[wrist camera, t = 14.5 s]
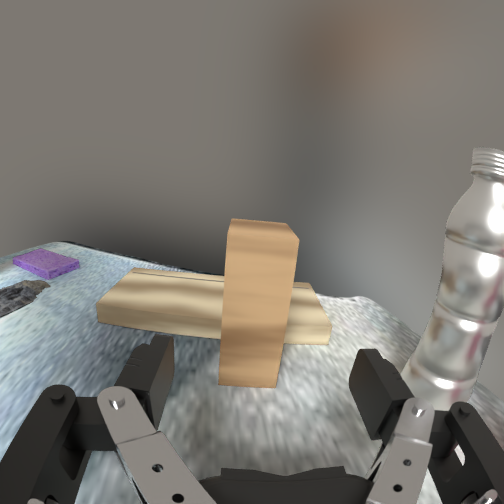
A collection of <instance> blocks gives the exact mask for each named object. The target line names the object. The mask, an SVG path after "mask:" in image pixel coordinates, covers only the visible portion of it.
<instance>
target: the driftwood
mask: <svg viewBox="0 0 504 504" xmlns="http://www.w3.org/2000/svg"><path fill="white" fill-rule="evenodd" d="M48 287H51V286H50V285H49V284H47V283H46V282H45V281H41V280H36V281H27V280H24V281H22V282H19V283H16V284H14V285H12V286H9V287H5V288H2V289H0V317H1V316H2V315H5V314H7V313H10V312H12V311H14V310H16V309H18V308H20V307H22V306H24V305H27V304H29V303H31V302H33V301H34V299H35V298H37V297H36V295H38V294H40V292H42V290H43V289H44V288H48Z"/></svg>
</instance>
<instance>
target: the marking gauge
mask: <svg viewBox="0 0 504 504" xmlns="http://www.w3.org/2000/svg"><path fill="white" fill-rule="evenodd" d="M298 245H299V239H298V238H297V237H296V235H295V234H294V232H293V231H292V230H291V229H290V227H289V226H288V225H287V224H286V223H275V222H265V221H254V220H243V219H232V220H231V223H230V227H229V231H228V237H227V251H226V264H225V278H224V293H223V308H222V325H221V343H220V362H219V383H218V385H227V386H241V387H259V388H276V382H277V377H278V372H279V366H280V361H281V355H282V349H283V344H284V338H285V332H286V326H287V320H288V313H289V307H290V301H291V294H292V288H293V280H294V274H295V266H296V260H297V253H298Z"/></svg>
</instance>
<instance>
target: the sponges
mask: <svg viewBox="0 0 504 504" xmlns="http://www.w3.org/2000/svg"><path fill="white" fill-rule="evenodd" d="M13 264H15V265H17V266H19V267H21V268H24V269H26V270H28V271H30V272H32V273H34V274H37V275H38V276H41V277H43V278H45V279H47V280H49V279H52V278H54V277H57V276H59V275H62V274H64V273H67V272H70V271H72V270H75V269H77V268H79V265H78V264H79V260H78V259H73V258H70V257H66V256H63V255H59V254H57V253H54V252H51V251H47V250H44V249H42V248H40V249H37V250H34V251H32V252H29V253H26V254H23V255H19V256H16V257H13Z"/></svg>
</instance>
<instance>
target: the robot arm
mask: <svg viewBox="0 0 504 504" xmlns="http://www.w3.org/2000/svg"><path fill="white" fill-rule="evenodd" d="M398 373H399V372H398V371H397V369H396V368H395V366H394V365H393V364H392V363H390V362H389V361H388V360H386V359H383V358H382V356H381V355H380V353H379V352H378V350H377V349H360V350H359V351H358V353H357V356H356V359H355V362H354V365H353V368H352V371H351V374H350V377H349V388H350V391H351V393H352V396H353V398H354V400H355V403H356V405H357V407H358V410H359V412H360V415H361V417H362V419H363V422H364V424H365V427H366V429H367V431H368V434H369V436H370V439H371V440H378V439H382V444H381V446H380V447H379V449H378V452H377V454H376V456H375V458H374V460H373V462H372V464H371V466H370V468H369V470H368V472H367V474H366V476H365V478H362V477H360V476H356V475H351V474H346V472H345V469H344V466H339V467H330V468H318V469H313V470H309V471H306V472H302V473H298V474H294V475H290V476H280V475H275V474H270V473H265V472H260V471H256V470H245V469H228V468H221V476H215V477H210V478H206V479H203V480H200V481H197V479H196V478H195V477H194V475H193V474H192V473H191V472H190V470H189V469H188V468H187V466H186V465H185V464H184V462H183V461H182V459H181V458H180V457H179V455H178V454H177V452H176V451H175V450H174V448H173V447H172V445H171V444H170V442H169V441H168V439H167V438H166V437H165V435H164V434H163V433H162V432H161V431H158V432H157V429H158V426H159V423H160V419H161V416H162V413H163V409H164V406H165V403H166V400H167V396H168V393H169V390H170V387H171V383H172V380H173V376H174V340H173V336H166V335H159V334H155V335H154V337H153V339H152V341H151V343H150V345H148V344H141V345H140V346H138V347H137V348H135V349H134V350H133V352H132V354H131V356H130V359H128V361H127V363H126V365H125V366H124V368H123V370H122V372H121V374H120V376H119V377H118V379H117V381H116V383H115V385H114V386H113V387H109V388H106V389H104V390H102V391H101V392H100V393H99V395H98V397H76V395H75V392H74V391H73V390H72V389H71V388H70V387H68V386H65V385H52V386H50V387H48V388H46V389H45V390H44V391H43V392H42V393H41V395H40V396H39V398H38V400H37V401H36V403H35V404H34V406H33V407H32V409H31V411H30V412H29V414H28V415H27V417H26V419H25V420H24V422H23V423H22V425H21V427H20V428H19V430H18V432H17V434H16V435H15V437H14V439H13V440H12V442H11V444H10V446H9V447H8V449H7V451H6V453H5V455H4V456H3V458H2V460H1V462H0V504H74V503H75V500H76V497H77V493H78V490H79V487H80V484H81V481H82V478H83V475H84V472H85V470H86V467H87V464H88V461H89V458H90V455H91V453H92V451H114V452H115V454H116V456H117V458H118V460H119V462H120V464H121V466H122V468H123V470H124V472H125V474H126V476H127V478H128V480H129V482H130V484H131V485H132V487H133V489H134V491H135V493H136V495H137V497H138V499H139V501H140V502H141V504H416V502H417V500H418V497H419V494H420V490H421V487H422V484H423V481H424V477H425V474H426V470H427V467H428V469H429V471H430V474H431V476H432V479H433V481H434V483H435V486H436V488H437V491H438V493H439V496H440V498H441V501H442V503H443V504H504V451H503V450H502V448H501V447H500V445H499V444H498V442H497V440H496V439H495V437H494V436H493V434H492V433H491V431H490V430H489V428H488V427H487V425H486V424H485V422H484V421H483V419H482V418H481V417H480V415H479V414H478V412H477V411H476V409H475V408H474V407H473V406H472V405H470V404H469V403H466V402H462V401H458V402H455V403H453V404H452V406H451V407H450V409H449V411H443V410H434V407H433V406H432V404H431V403H429V402H428V401H426V400H425V399H422V398H415V397H414V395H413V394H412V392H411V390H410V389H409V387H408V386H407V384H406V383H405V381H404V380H402V377H401V375H400V374H398ZM458 444H459V446H460V447H461V449H462V451H463V453H464V455H465V463H464V465H463V466H462V464H461V462H460V460H459V458H458V456H457V454H456V452H455V450H454V449H455V448H456V447H457V446H458Z"/></svg>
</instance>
